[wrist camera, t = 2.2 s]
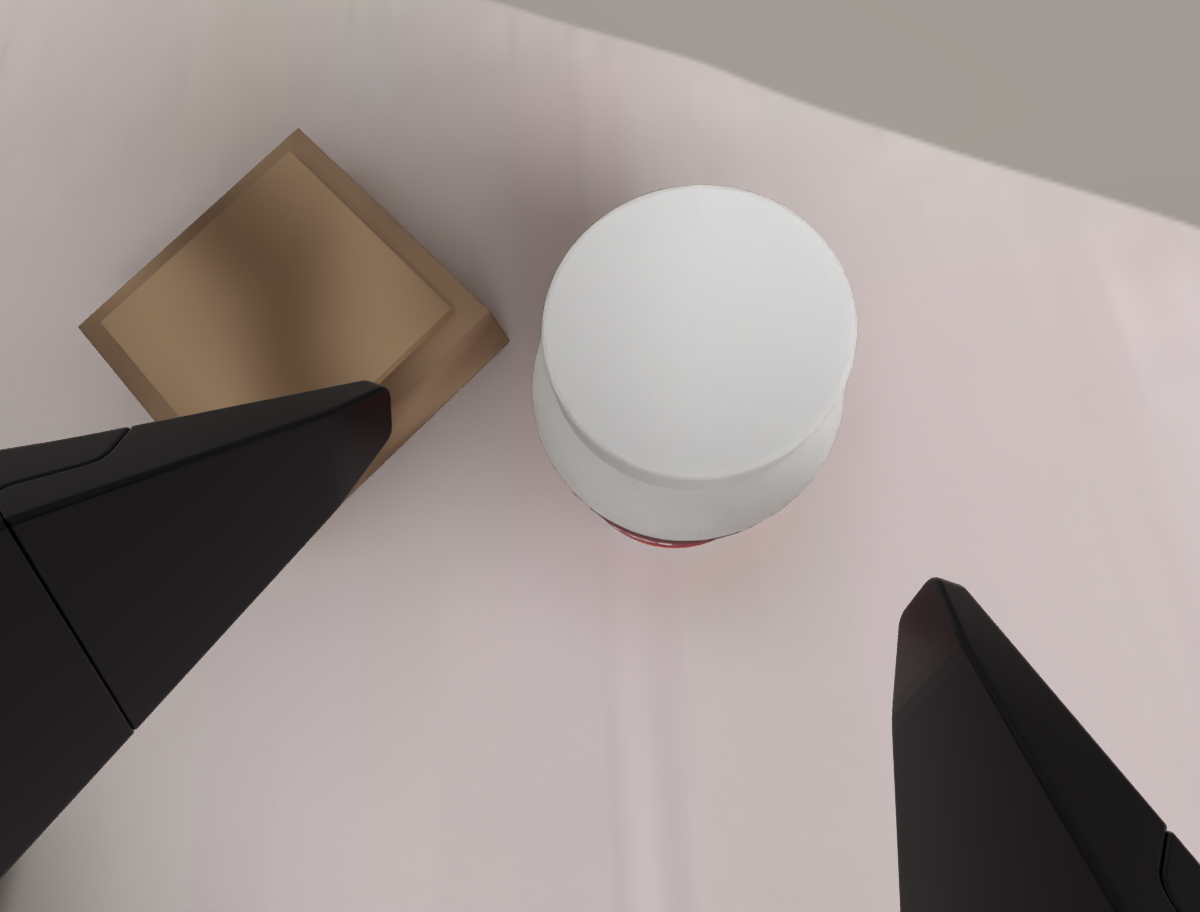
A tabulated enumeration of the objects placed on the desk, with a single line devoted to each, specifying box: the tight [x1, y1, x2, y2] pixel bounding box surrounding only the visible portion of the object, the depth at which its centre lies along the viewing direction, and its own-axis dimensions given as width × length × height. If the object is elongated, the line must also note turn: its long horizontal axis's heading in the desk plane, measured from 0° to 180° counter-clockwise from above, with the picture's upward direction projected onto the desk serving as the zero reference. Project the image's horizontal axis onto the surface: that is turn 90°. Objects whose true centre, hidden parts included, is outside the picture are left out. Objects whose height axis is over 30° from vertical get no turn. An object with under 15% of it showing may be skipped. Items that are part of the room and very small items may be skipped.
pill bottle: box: [532, 185, 857, 548], centre depth 14 cm, size 6×6×11 cm
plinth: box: [78, 128, 509, 502], centre depth 20 cm, size 10×10×3 cm
